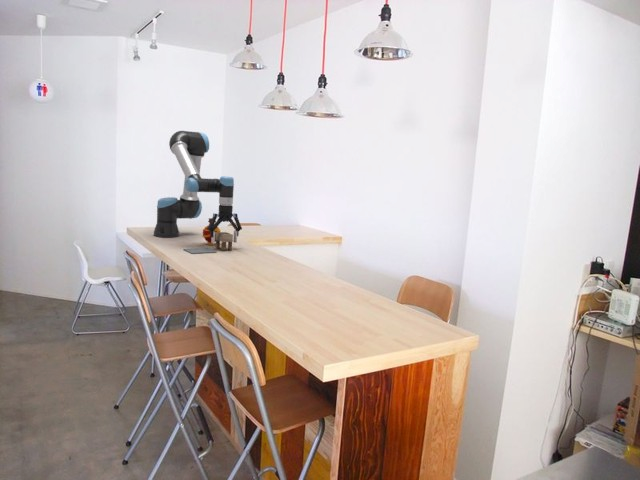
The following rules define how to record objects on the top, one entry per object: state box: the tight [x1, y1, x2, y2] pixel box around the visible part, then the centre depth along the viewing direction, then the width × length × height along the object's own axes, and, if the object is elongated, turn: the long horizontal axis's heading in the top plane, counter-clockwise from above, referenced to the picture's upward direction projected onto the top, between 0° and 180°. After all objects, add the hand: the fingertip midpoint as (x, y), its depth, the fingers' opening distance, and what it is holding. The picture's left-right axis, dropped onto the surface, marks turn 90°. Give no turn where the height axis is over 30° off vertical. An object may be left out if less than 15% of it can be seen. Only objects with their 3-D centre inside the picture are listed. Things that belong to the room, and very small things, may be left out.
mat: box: [183, 247, 217, 255], centre depth 261 cm, size 11×14×1 cm
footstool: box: [215, 231, 234, 252], centre depth 271 cm, size 9×6×9 cm, turn 38°
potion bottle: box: [202, 217, 222, 246], centre depth 283 cm, size 10×10×15 cm
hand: (224, 242), depth 271 cm, fingers open, 13 cm apart
